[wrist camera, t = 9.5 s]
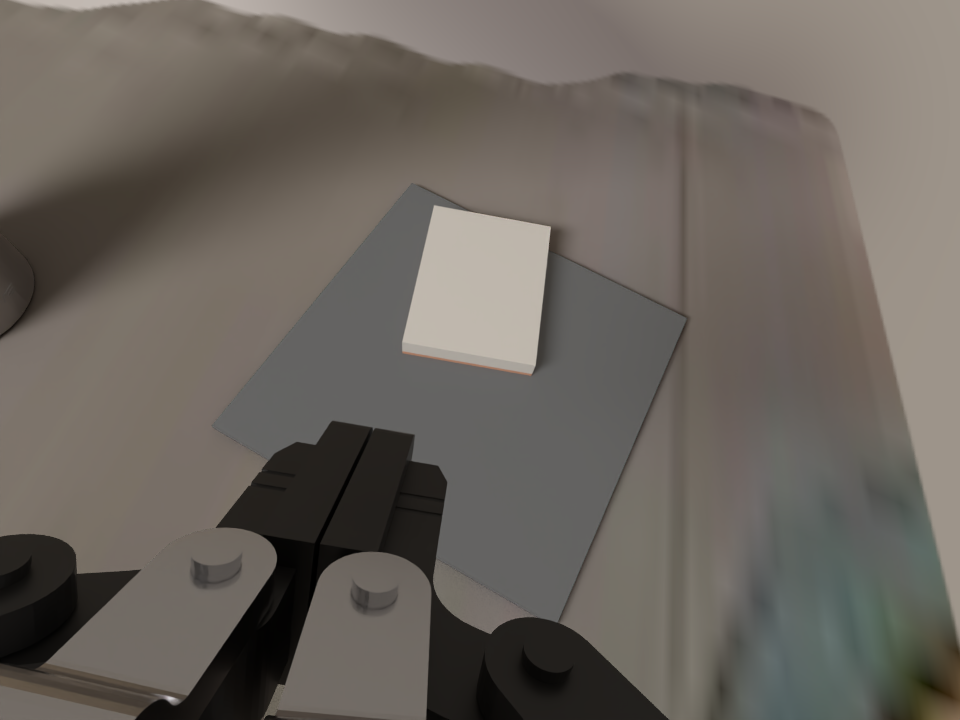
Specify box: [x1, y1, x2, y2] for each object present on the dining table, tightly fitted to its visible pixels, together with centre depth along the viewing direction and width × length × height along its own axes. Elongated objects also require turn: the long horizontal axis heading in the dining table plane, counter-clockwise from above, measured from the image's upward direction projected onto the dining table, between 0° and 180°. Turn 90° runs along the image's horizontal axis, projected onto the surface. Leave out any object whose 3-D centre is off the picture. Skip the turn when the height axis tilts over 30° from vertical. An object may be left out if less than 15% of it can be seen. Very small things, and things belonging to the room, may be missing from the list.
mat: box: [212, 183, 687, 622], centre depth 41 cm, size 24×24×1 cm
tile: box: [402, 205, 551, 376], centre depth 42 cm, size 2×9×12 cm
